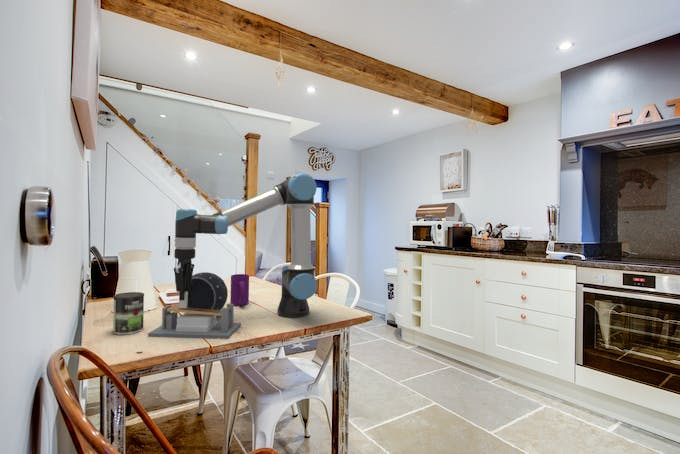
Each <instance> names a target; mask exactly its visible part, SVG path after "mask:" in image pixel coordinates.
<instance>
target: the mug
mask: <svg viewBox="0 0 680 454" xmlns="http://www.w3.org/2000/svg"><path fill="white" fill-rule="evenodd" d="M249 293H250V275H249V274H245V273H244V274H242V273H238V274H237V273H236V274H232V275H230V303H229V304H234V307H242V306H244V307H245V306H247V305H248V304H249V299H250V294H249Z"/></svg>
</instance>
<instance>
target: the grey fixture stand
mask: <svg viewBox="0 0 680 454" xmlns="http://www.w3.org/2000/svg"><path fill="white" fill-rule="evenodd" d="M171 306H172V305H171V304H169V305H166V306H165V307H163V308H162V309H161V311H162V312H161V316H162V318H161V324H162V325H160V326H157V328H155V329H152V330H151V331H150V332H148V333H147V337H153V338H154V337H155V338H188V339H217V338H220V340H222V339H224V340H228V339H230V338H231V336H232V335H234V333H235V332H236V331H238V329H240V327H241V326H242V325H241V322H234V316H235V315H234V310H235V309H234V307H235V306H234V304H230V303H227V304H226V307H223V308H221V316H220V317H221V318H220V319H221V320H220V321H219V322H218V319H217V315H206V314H194V313H183V314H182V315H179V316H178V313H179V312H171V311H167V309H168V308H169V307H171ZM229 310H231V311H232V313H231V314H230V315H229Z"/></svg>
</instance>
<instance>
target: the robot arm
mask: <svg viewBox="0 0 680 454" xmlns="http://www.w3.org/2000/svg"><path fill="white" fill-rule="evenodd" d="M317 188H318V187H317V183H316V181H315V179H314V177H313V176H311V175H310V174H307V173H303V172H299V173H295V174H293V175H292V176H289V177H288V178H286V180H284V181H282V182H280V183H279V184H277V185H275V186H273V187H272V189H270V190H268V191H266V192H263V193H261V194H259V195H256V196H253V197H251V198H248V199H247V200H244V201H242V202H238V203H237V204H234V205H232V206H230V207H228V208H227V207H226V209H223V210H219V211H218V212H215V213H213V214H198V211H197V210H196V209H193V208H192V209H191V208H178V209H177V210H176V214H175V222H174V223H175V226H174V227H175V229H174V231H175V233H174V235H175V236H174V247H175V249H174V258H175V259H177V263H176V264H177V265H176V267H173V272H174V278H175V279H174V280H175V290H176V292H177V293H178V295H179V296H178V307H179V308H185V309H186V308H187V301H188V291H190V290H191V289H189V288H191V282H192V276H193V275H194V274H193V273H194V268H195V264H194V263H192V260H193V259H195V258H196V247H197V246H196V245H197V244H196V243H197V234H205V235H206V234H207V235H209V234H210V235H227V233H228V232H229V227H231V226H233V225H235V224H238V223H239V222H242V221H244V220H247V219H249V218H251V217H254V216H256V215H258V214H260V213H263V212H266V211H267V210H269V209H272V208H275V207H276V206H277V207H278V206H279V205H280V206H284V205H287V207H288V208H289V209H290V259H291V260H290V264H289V265H283V267H282V268H281V298H280V300H279V303H278V307H277V313H276V314H277V315H278V316H280V317H283V318H292V319H293V318H302V317H306V316H308V315H309V314H310V306H309V302H308V299H310V298H312V297H313V295H314V294H315V293H316V292H317V288H318V281H317V278H316V277H315V266H314V265H313V264H312V257H311V256H312V254H311V251H312V250H311V249H312V248H311V244H312V243H311V240H312V239H311V237H312V236H311V209H312V208H313V207H314V205H315V203H314V202H315V201H314V200H315V195H316V193H317Z"/></svg>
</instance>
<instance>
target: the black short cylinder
mask: <svg viewBox="0 0 680 454" xmlns="http://www.w3.org/2000/svg"><path fill="white" fill-rule="evenodd" d="M189 289H191V290H190V291H188V301H187V307H189V308H201V309H212V310H221V308H225V305H226V303H227V300H228V293H229V292H228V291H229V290H228V287H227V285H226V283H225V280H224V279H223V278H222V277H220V276H219V275H218V274H215V273H212V272H207V271H206V272H205V271H203V272H198V273H195V274H192V282H191V288H189Z"/></svg>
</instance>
